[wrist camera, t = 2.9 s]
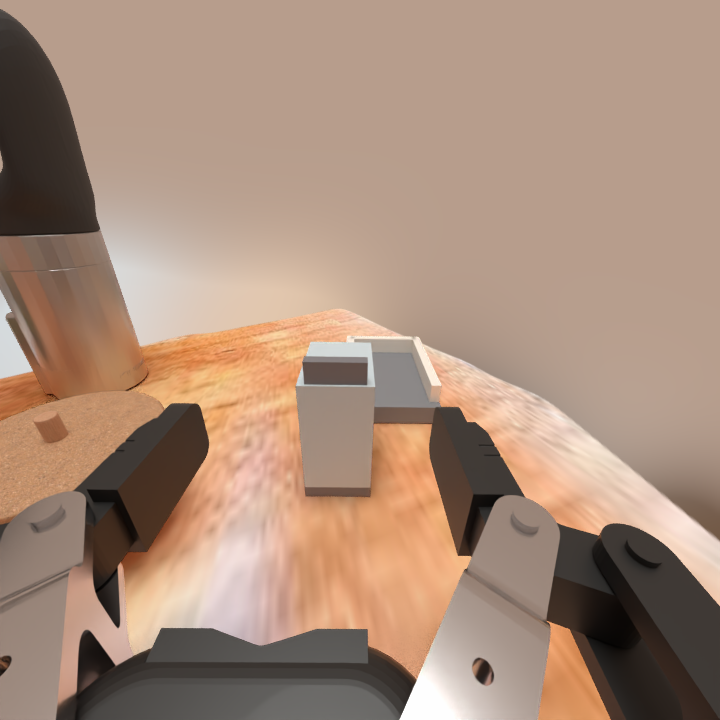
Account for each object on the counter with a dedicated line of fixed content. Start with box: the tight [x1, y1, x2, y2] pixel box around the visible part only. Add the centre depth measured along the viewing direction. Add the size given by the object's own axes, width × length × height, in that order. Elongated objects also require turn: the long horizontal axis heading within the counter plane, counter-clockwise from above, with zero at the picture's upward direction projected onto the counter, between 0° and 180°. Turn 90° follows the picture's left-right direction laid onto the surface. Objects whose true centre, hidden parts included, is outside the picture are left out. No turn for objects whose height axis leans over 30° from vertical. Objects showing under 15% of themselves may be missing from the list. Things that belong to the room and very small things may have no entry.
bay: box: [347, 336, 442, 402], centre depth 37 cm, size 10×13×2 cm
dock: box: [372, 352, 441, 423], centre depth 38 cm, size 10×14×2 cm
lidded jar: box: [0, 391, 164, 525], centre depth 19 cm, size 11×11×9 cm
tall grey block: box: [296, 342, 375, 497], centre depth 24 cm, size 5×7×12 cm
